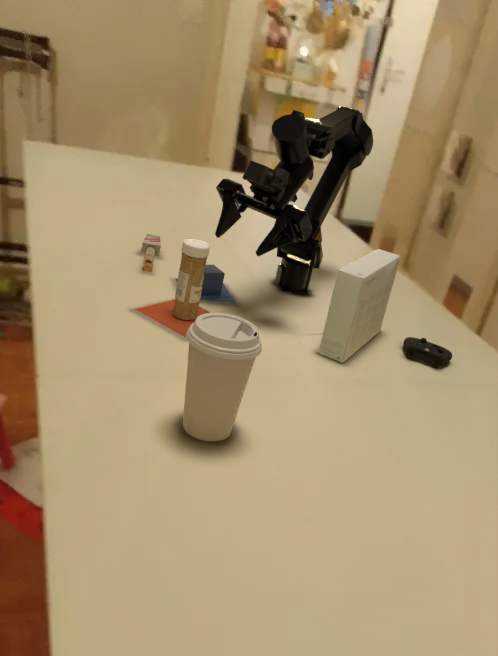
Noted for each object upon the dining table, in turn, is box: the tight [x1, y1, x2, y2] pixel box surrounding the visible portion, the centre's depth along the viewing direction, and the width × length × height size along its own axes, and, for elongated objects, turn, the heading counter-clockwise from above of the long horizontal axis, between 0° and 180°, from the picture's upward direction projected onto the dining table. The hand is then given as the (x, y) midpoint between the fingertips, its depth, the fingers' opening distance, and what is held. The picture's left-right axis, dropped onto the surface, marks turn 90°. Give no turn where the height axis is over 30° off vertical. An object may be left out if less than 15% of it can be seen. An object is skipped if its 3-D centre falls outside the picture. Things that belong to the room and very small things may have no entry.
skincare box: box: [317, 248, 402, 364], centre depth 124 cm, size 21×5×16 cm, turn 154°
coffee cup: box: [182, 312, 263, 442], centre depth 87 cm, size 10×10×15 cm
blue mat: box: [175, 278, 237, 304], centre depth 132 cm, size 10×10×1 cm
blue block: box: [201, 264, 226, 295], centre depth 131 cm, size 4×4×4 cm
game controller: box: [403, 336, 453, 368], centre depth 129 cm, size 10×5×6 cm
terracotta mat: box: [134, 299, 211, 338], centre depth 119 cm, size 12×12×1 cm
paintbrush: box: [140, 233, 162, 273], centre depth 142 cm, size 4×3×20 cm
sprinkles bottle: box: [172, 238, 211, 321], centre depth 116 cm, size 5×5×14 cm
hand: (236, 245), depth 118 cm, fingers open, 9 cm apart
